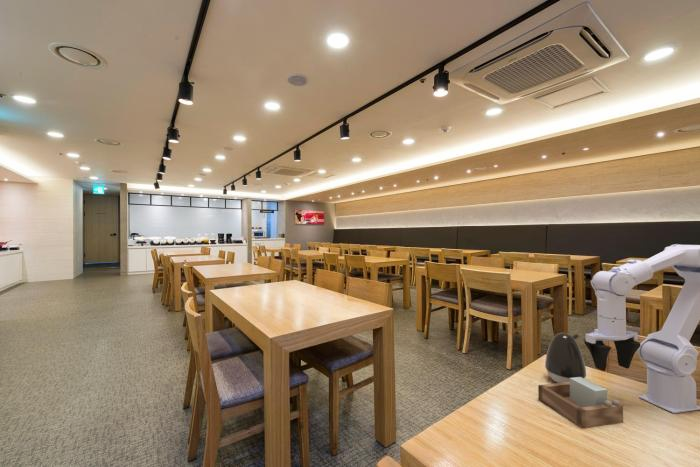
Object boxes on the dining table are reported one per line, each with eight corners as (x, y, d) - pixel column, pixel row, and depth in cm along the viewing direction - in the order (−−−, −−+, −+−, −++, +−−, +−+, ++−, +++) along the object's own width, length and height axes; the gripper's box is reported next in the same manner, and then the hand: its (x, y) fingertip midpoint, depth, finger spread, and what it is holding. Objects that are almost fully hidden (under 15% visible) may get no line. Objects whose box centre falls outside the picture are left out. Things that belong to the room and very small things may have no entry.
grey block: (582, 398, 81) (582, 376, 81) (609, 413, 74) (609, 389, 74) (569, 400, 80) (569, 377, 80) (595, 415, 73) (595, 391, 73)
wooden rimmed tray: (575, 395, 83) (574, 377, 83) (623, 422, 71) (623, 401, 71) (538, 399, 81) (538, 381, 81) (582, 428, 69) (581, 407, 69)
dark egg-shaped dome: (595, 388, 87) (594, 336, 88) (568, 393, 85) (567, 340, 85) (562, 373, 97) (562, 326, 97) (537, 377, 94) (536, 329, 95)
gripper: (617, 311, 84) (618, 359, 84) (574, 314, 81) (575, 364, 81) (646, 318, 77) (647, 370, 77) (600, 321, 74) (601, 375, 74)
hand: (612, 368), depth 78 cm, fingers open, 7 cm apart
